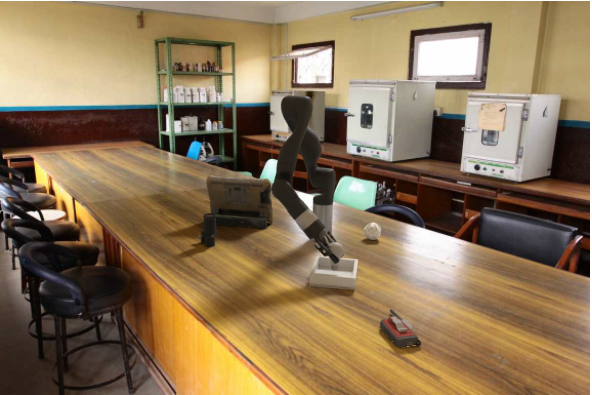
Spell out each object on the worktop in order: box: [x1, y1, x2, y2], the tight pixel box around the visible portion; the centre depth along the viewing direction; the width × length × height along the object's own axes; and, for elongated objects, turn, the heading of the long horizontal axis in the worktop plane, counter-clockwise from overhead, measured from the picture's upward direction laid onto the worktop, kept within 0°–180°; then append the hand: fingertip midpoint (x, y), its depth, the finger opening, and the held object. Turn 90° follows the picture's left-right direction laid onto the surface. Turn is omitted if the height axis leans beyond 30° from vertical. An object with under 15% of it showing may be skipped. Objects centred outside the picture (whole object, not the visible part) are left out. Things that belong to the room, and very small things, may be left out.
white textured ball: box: [363, 222, 382, 241], centre depth 210 cm, size 8×8×8 cm
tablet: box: [205, 174, 274, 229], centre depth 226 cm, size 33×14×25 cm, turn 85°
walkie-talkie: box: [379, 308, 422, 349], centre depth 131 cm, size 9×4×20 cm
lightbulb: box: [328, 241, 345, 271], centre depth 165 cm, size 6×6×11 cm
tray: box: [308, 255, 359, 291], centre depth 166 cm, size 18×16×4 cm
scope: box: [197, 212, 218, 248], centre depth 197 cm, size 8×14×10 cm
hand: (339, 259), depth 165 cm, fingers closed on lightbulb, 5 cm apart
